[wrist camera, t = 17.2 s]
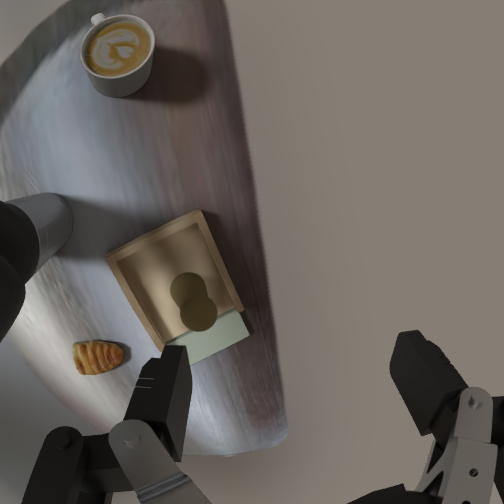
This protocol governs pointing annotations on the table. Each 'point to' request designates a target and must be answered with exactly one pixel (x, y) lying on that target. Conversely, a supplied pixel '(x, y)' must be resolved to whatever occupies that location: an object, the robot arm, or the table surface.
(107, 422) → the table surface
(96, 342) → the pastry
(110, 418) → the table surface
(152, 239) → the tray
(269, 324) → the table surface
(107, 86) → the coffee mug
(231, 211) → the table surface
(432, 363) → the robot arm
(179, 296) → the cork
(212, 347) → the panel
